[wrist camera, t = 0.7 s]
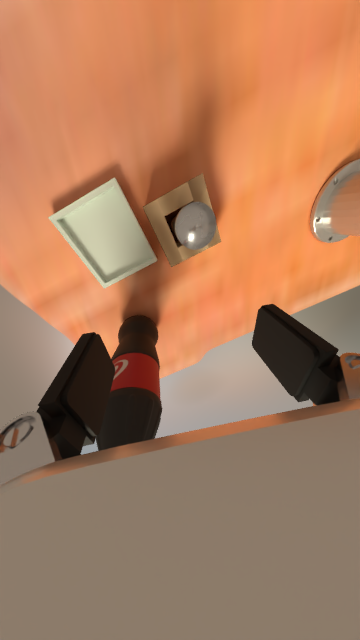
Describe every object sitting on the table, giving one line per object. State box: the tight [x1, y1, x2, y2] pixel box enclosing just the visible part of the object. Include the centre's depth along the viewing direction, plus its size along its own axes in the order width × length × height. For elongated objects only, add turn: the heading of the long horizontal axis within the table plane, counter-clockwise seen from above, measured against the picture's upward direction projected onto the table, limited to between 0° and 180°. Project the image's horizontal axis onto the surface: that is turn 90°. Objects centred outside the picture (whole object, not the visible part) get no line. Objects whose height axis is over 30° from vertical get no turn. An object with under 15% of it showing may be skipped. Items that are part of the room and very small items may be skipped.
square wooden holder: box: [143, 173, 221, 267], centre depth 26 cm, size 9×9×5 cm
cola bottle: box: [96, 316, 162, 451], centre depth 25 cm, size 8×8×30 cm
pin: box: [171, 202, 216, 250], centre depth 23 cm, size 5×5×12 cm
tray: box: [48, 177, 158, 288], centre depth 27 cm, size 11×12×2 cm
